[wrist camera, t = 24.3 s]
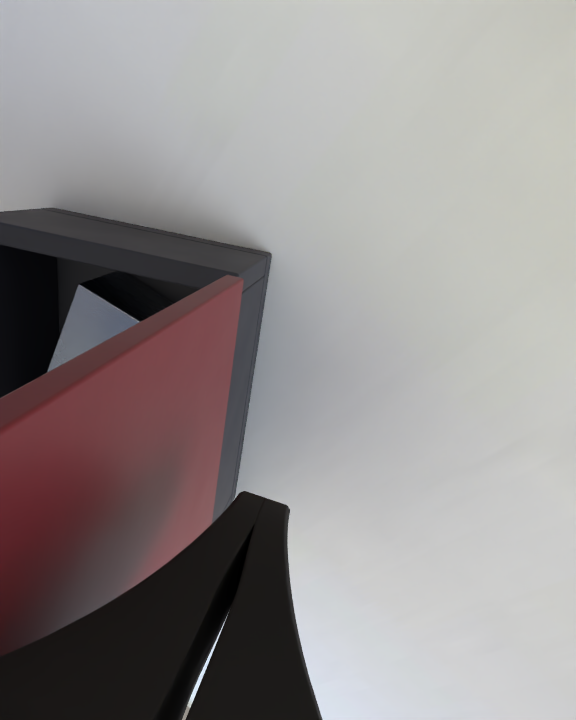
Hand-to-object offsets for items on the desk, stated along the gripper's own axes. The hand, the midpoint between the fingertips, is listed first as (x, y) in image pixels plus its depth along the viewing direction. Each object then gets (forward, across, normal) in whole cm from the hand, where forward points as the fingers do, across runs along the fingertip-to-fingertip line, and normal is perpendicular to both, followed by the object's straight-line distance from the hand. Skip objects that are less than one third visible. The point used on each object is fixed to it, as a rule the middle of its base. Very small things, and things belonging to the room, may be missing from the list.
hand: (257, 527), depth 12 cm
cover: (-1, +3, +1) cm, 3 cm away
